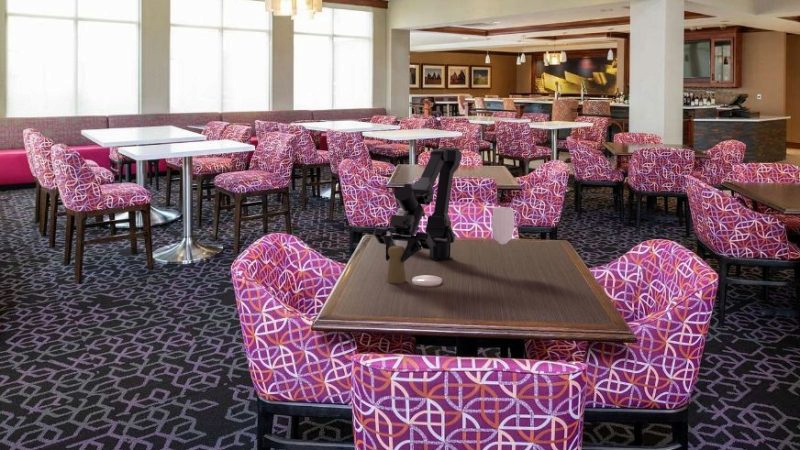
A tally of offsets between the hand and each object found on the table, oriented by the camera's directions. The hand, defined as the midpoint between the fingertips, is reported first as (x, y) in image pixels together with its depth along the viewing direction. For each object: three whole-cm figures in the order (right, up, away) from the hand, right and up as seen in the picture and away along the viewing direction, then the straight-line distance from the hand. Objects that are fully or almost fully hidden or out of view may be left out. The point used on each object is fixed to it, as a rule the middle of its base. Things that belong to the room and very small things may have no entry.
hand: (394, 261), depth 205 cm
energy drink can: (+3, +2, +47) cm, 47 cm away
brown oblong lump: (+1, -6, +2) cm, 7 cm away
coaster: (+10, -7, +1) cm, 12 cm away
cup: (+35, -4, +14) cm, 38 cm away
